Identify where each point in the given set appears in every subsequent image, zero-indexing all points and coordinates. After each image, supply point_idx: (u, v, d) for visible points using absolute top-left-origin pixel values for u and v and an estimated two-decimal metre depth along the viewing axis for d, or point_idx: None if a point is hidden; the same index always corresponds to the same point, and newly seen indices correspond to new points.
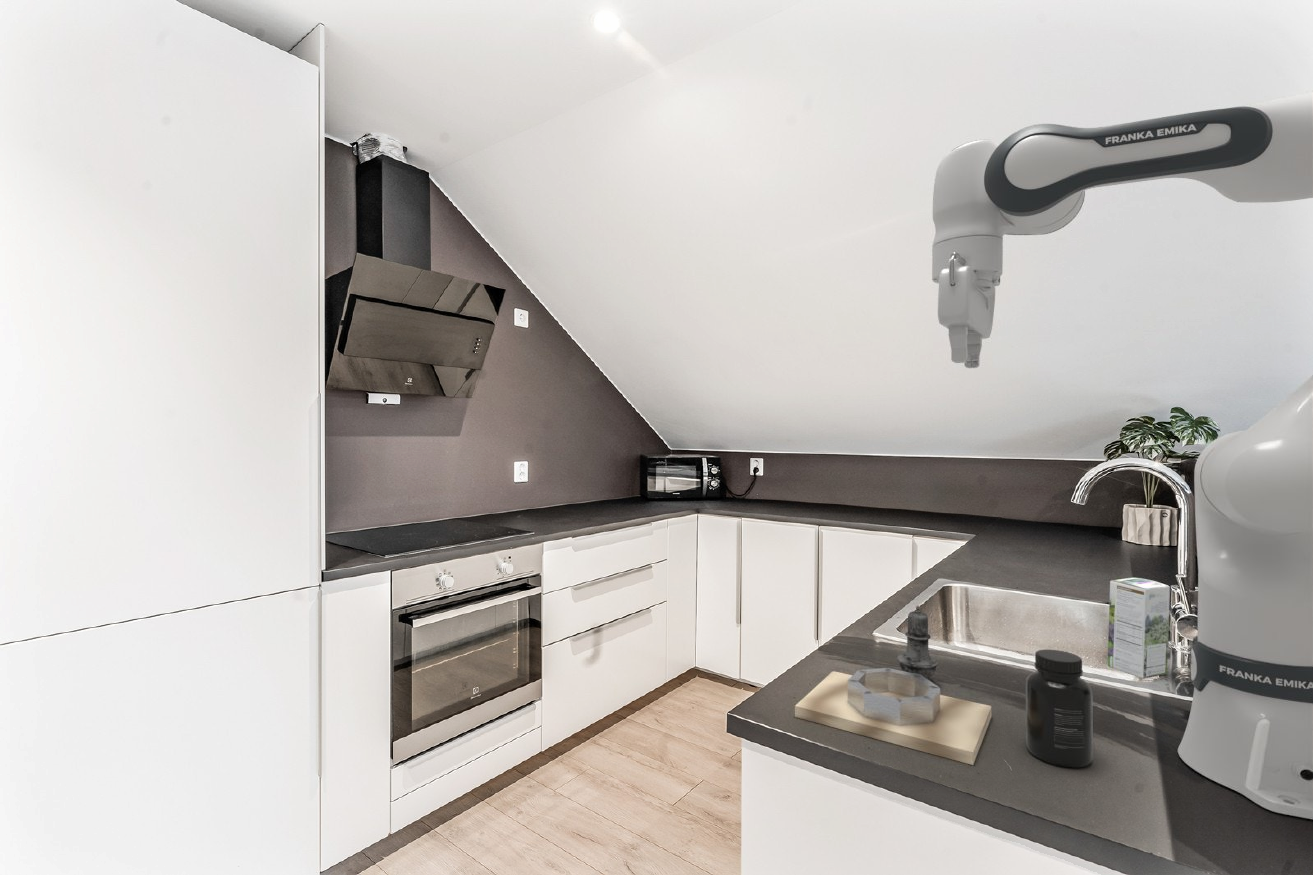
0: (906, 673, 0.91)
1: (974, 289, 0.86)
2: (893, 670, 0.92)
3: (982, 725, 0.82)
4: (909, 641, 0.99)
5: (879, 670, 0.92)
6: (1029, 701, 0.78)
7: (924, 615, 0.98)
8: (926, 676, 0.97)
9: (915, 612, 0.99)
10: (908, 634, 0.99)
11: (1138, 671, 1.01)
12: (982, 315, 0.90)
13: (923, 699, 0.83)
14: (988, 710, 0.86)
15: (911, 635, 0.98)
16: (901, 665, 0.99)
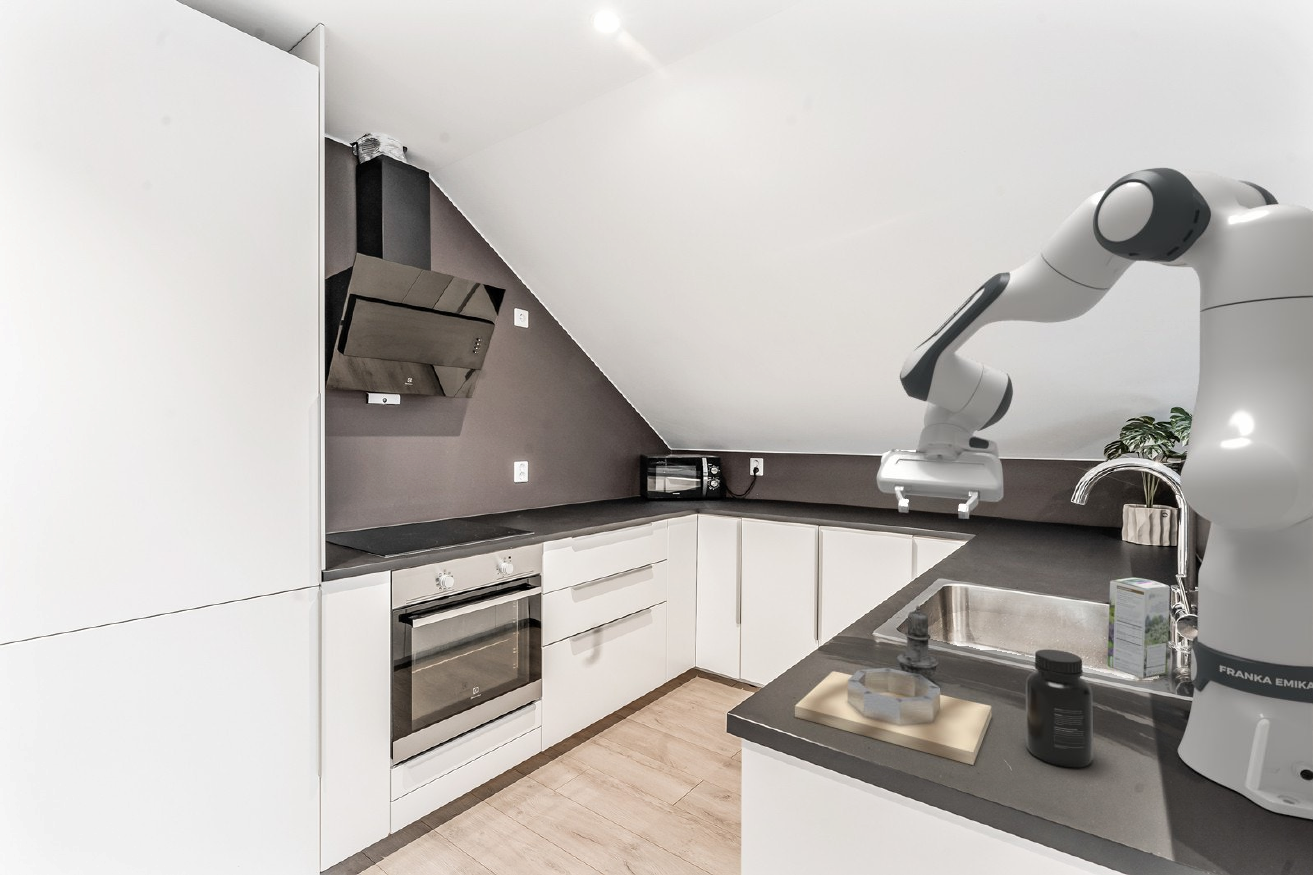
0: (906, 673, 0.91)
1: (919, 462, 1.15)
2: (893, 670, 0.92)
3: (982, 725, 0.82)
4: (909, 641, 0.99)
5: (879, 670, 0.92)
6: (1029, 701, 0.78)
7: (924, 615, 0.98)
8: (926, 676, 0.97)
9: (915, 612, 0.99)
10: (908, 634, 0.99)
11: (1138, 671, 1.01)
12: (947, 475, 1.10)
13: (923, 699, 0.83)
14: (988, 710, 0.86)
15: (911, 635, 0.98)
16: (901, 665, 0.99)
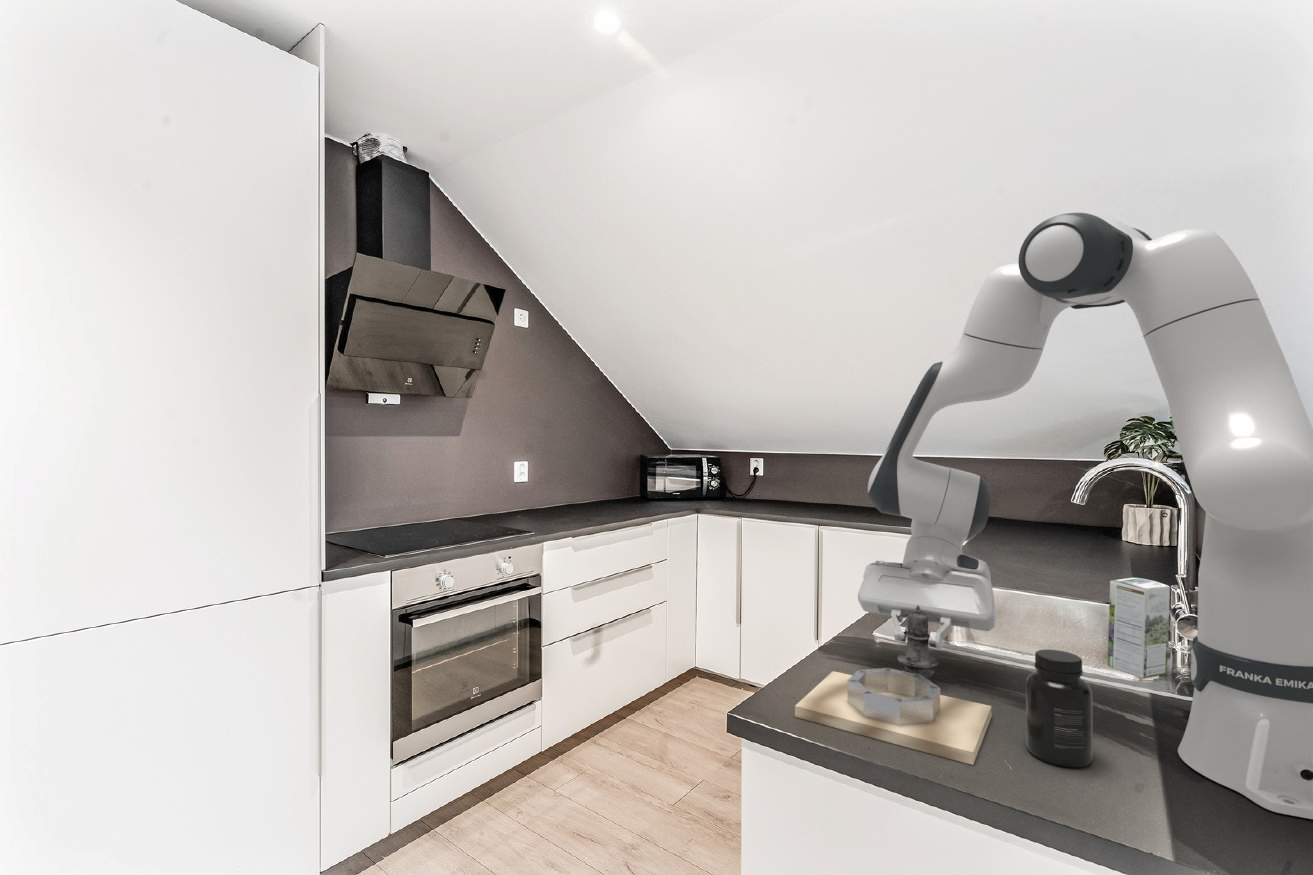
0: (906, 673, 0.91)
1: (904, 580, 1.05)
2: (893, 670, 0.92)
3: (982, 725, 0.82)
4: (909, 641, 0.99)
5: (879, 670, 0.92)
6: (1029, 701, 0.78)
7: (924, 615, 0.98)
8: (926, 676, 0.97)
9: (915, 612, 0.99)
10: (908, 634, 0.99)
11: (1138, 671, 1.01)
12: (933, 598, 1.00)
13: (923, 699, 0.83)
14: (988, 710, 0.86)
15: (911, 635, 0.98)
16: (901, 665, 0.99)
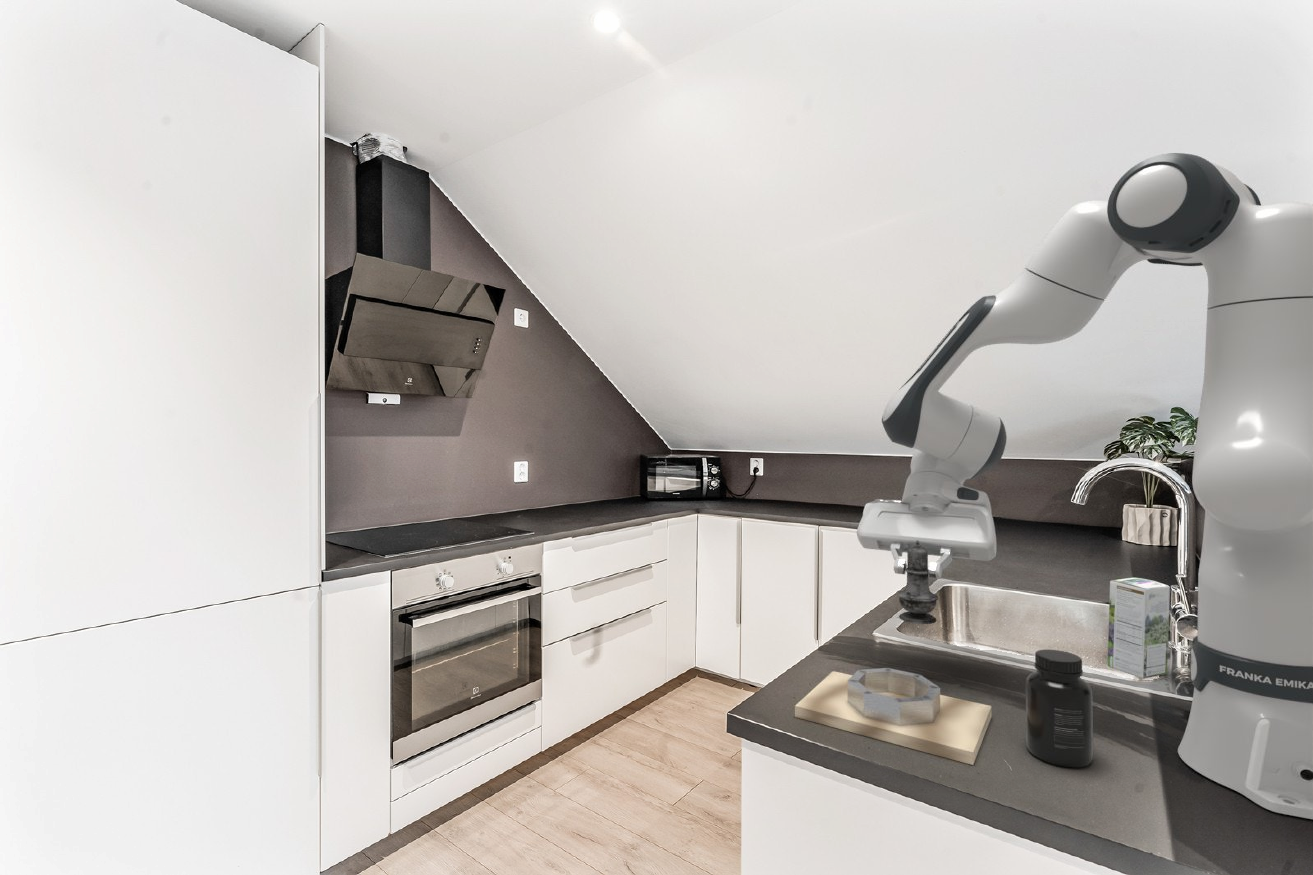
0: (906, 673, 0.91)
1: (903, 515, 1.04)
2: (893, 670, 0.92)
3: (982, 725, 0.82)
4: (908, 576, 0.98)
5: (879, 670, 0.92)
6: (1029, 701, 0.78)
7: (924, 549, 0.97)
8: (926, 610, 0.96)
9: (915, 547, 0.97)
10: (908, 569, 0.98)
11: (1138, 671, 1.01)
12: (933, 530, 0.99)
13: (923, 699, 0.83)
14: (988, 710, 0.86)
15: (911, 570, 0.97)
16: (901, 600, 0.98)
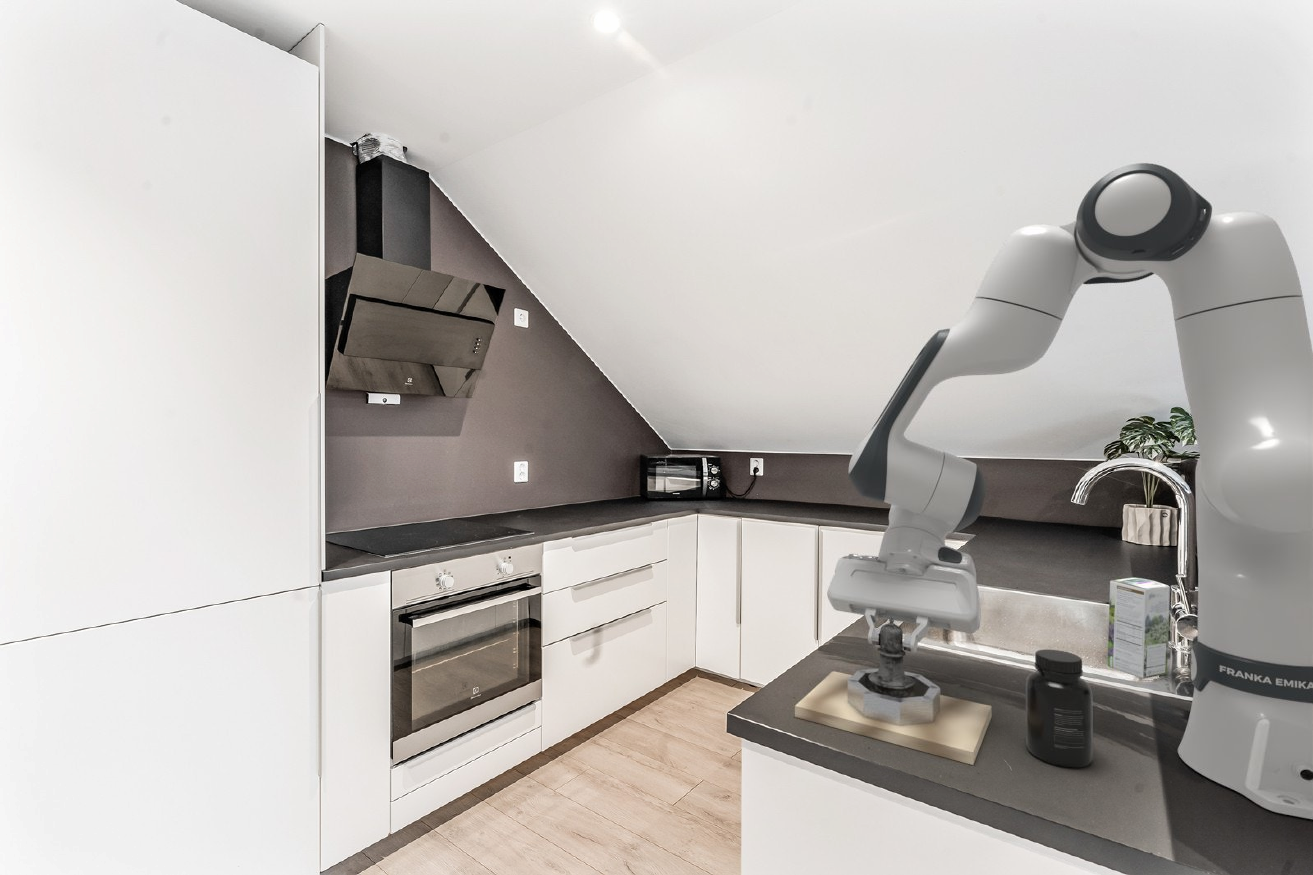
0: (906, 673, 0.91)
1: (879, 575, 0.93)
2: None
3: (982, 725, 0.82)
4: (881, 658, 0.87)
5: None
6: (1029, 701, 0.78)
7: (898, 629, 0.87)
8: None
9: (888, 625, 0.87)
10: (880, 650, 0.88)
11: (1138, 671, 1.01)
12: (910, 596, 0.89)
13: (923, 699, 0.83)
14: (988, 710, 0.86)
15: (883, 651, 0.87)
16: (872, 684, 0.88)
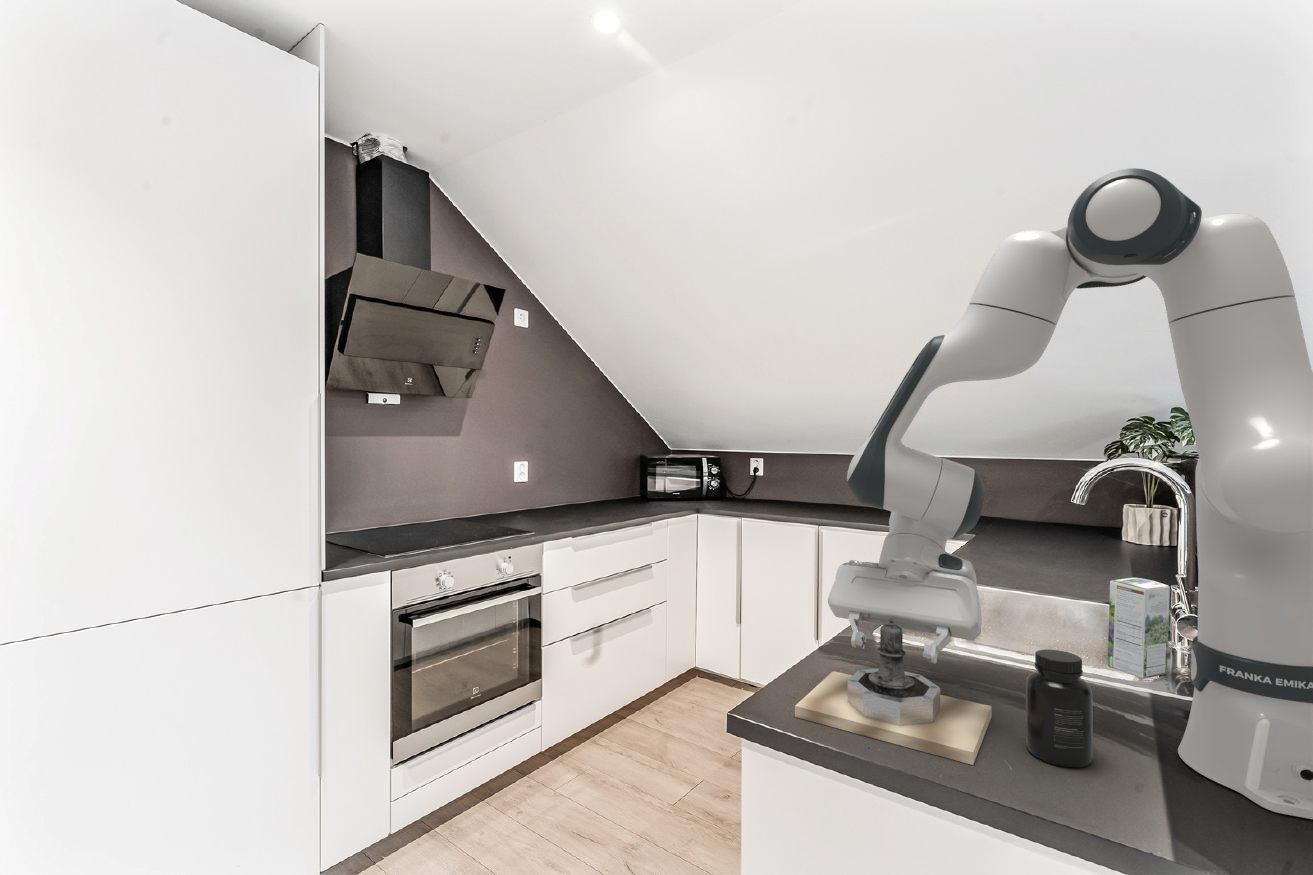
0: (906, 673, 0.91)
1: (879, 582, 0.93)
2: None
3: (982, 725, 0.82)
4: (881, 658, 0.87)
5: None
6: (1029, 701, 0.78)
7: (898, 629, 0.87)
8: None
9: (888, 625, 0.87)
10: (880, 650, 0.88)
11: (1138, 671, 1.01)
12: (911, 603, 0.89)
13: (923, 699, 0.83)
14: (988, 710, 0.86)
15: (883, 651, 0.87)
16: (872, 684, 0.88)
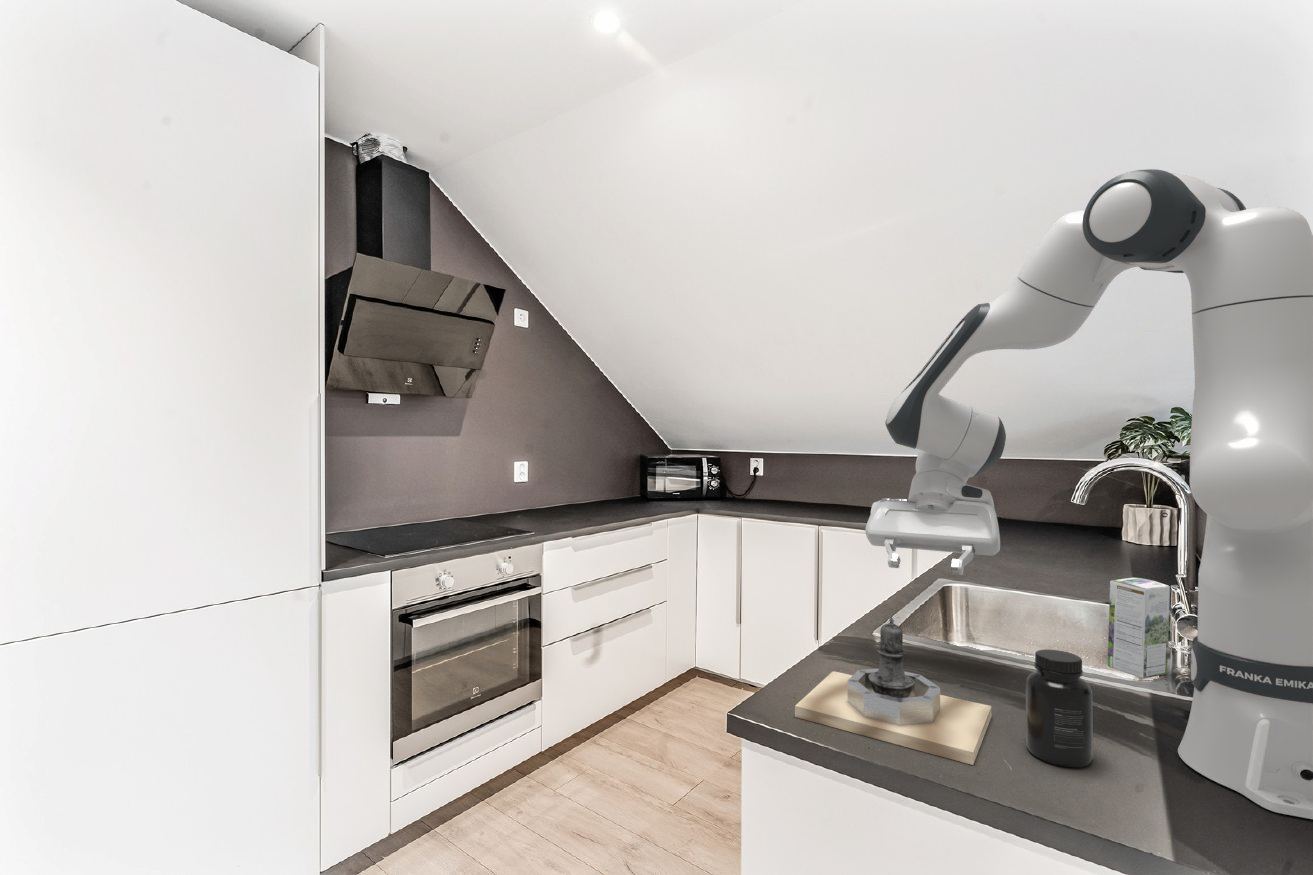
0: (906, 673, 0.91)
1: (910, 512, 1.08)
2: None
3: (982, 725, 0.82)
4: (881, 658, 0.87)
5: None
6: (1029, 701, 0.78)
7: (898, 629, 0.87)
8: None
9: (888, 625, 0.87)
10: (880, 650, 0.88)
11: (1138, 671, 1.01)
12: (939, 527, 1.03)
13: (923, 699, 0.83)
14: (988, 710, 0.86)
15: (883, 651, 0.87)
16: (872, 684, 0.88)
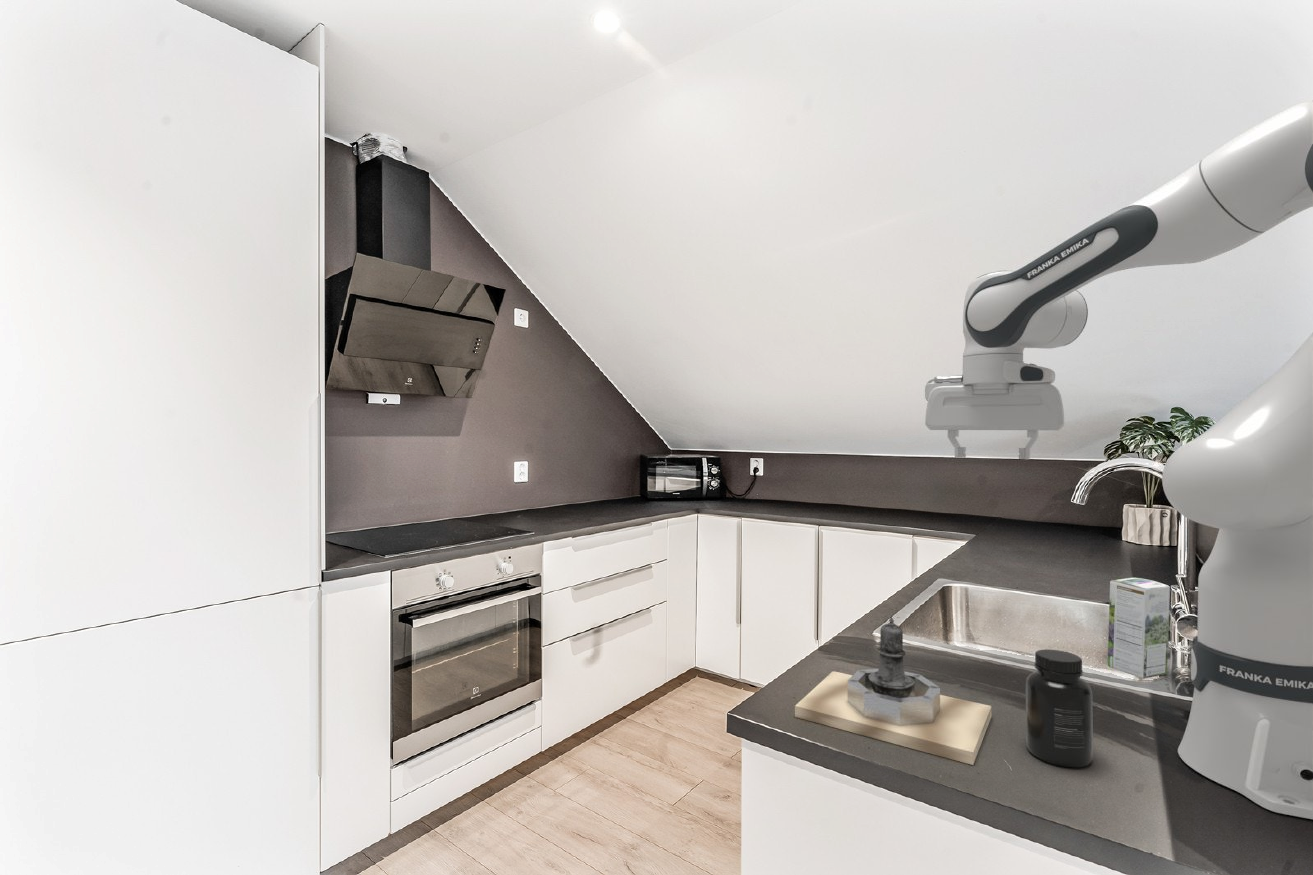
0: (906, 673, 0.91)
1: (968, 399, 1.07)
2: None
3: (982, 725, 0.82)
4: (881, 658, 0.87)
5: None
6: (1029, 701, 0.78)
7: (898, 629, 0.87)
8: None
9: (888, 625, 0.87)
10: (880, 650, 0.88)
11: (1138, 671, 1.01)
12: (1001, 415, 1.04)
13: (923, 699, 0.83)
14: (988, 710, 0.86)
15: (883, 651, 0.87)
16: (872, 684, 0.88)
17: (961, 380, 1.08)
